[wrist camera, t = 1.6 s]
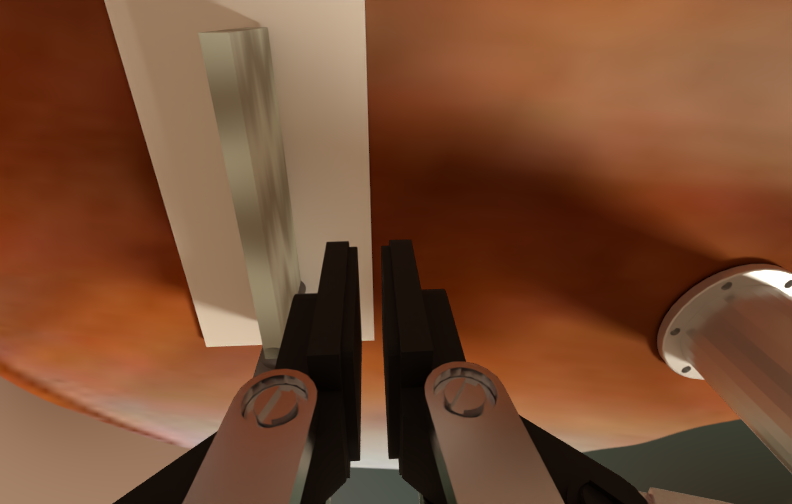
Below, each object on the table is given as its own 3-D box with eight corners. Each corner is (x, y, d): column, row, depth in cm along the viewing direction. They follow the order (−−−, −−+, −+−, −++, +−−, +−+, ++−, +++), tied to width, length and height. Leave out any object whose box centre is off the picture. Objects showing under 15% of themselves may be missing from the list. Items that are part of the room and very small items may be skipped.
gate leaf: (307, 297, 32) (292, 368, 26) (283, 297, 32) (262, 370, 26) (273, 27, 23) (236, 32, 17) (240, 27, 23) (190, 32, 16)
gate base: (374, 334, 36) (376, 448, 27) (209, 340, 35) (151, 460, 26) (363, -24, 23) (362, -50, 14) (104, -27, 22) (-90, -57, 13)
